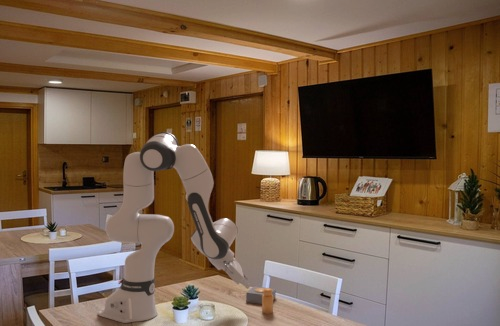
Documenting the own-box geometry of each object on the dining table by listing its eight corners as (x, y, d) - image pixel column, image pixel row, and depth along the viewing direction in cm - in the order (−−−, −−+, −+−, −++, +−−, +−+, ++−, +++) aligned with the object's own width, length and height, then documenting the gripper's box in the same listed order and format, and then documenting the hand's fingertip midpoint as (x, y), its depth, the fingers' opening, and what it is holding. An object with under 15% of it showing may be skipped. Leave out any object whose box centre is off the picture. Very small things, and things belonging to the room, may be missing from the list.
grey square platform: (246, 301, 190) (246, 292, 190) (253, 295, 199) (254, 285, 199) (268, 305, 187) (268, 295, 186) (275, 298, 196) (275, 288, 196)
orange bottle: (260, 312, 177) (261, 290, 177) (263, 309, 181) (264, 287, 181) (271, 314, 176) (271, 291, 175) (274, 310, 180) (274, 288, 180)
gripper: (230, 259, 164) (256, 285, 165) (228, 248, 185) (251, 271, 186) (218, 271, 164) (244, 297, 165) (217, 258, 184) (240, 282, 185)
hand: (247, 283), depth 176 cm, fingers open, 8 cm apart
